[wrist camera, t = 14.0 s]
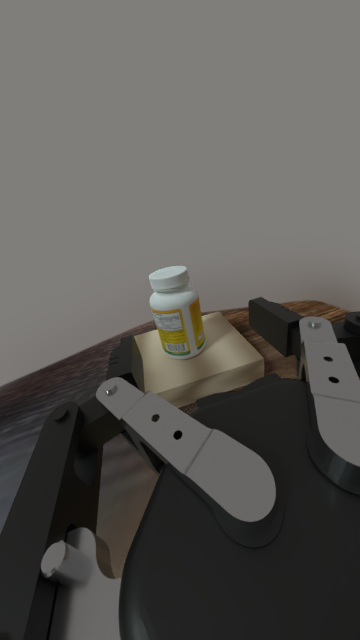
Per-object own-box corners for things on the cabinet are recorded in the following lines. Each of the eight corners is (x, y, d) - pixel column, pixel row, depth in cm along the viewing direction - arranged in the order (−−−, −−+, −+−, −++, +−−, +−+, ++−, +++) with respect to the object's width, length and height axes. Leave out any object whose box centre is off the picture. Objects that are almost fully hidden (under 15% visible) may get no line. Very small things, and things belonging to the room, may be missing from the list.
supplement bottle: (174, 368, 21) (149, 285, 16) (158, 344, 25) (135, 275, 21) (215, 347, 22) (203, 267, 18) (193, 329, 27) (179, 261, 22)
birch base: (139, 421, 19) (129, 402, 18) (137, 352, 30) (131, 337, 29) (264, 379, 21) (264, 358, 19) (220, 327, 31) (218, 311, 30)
